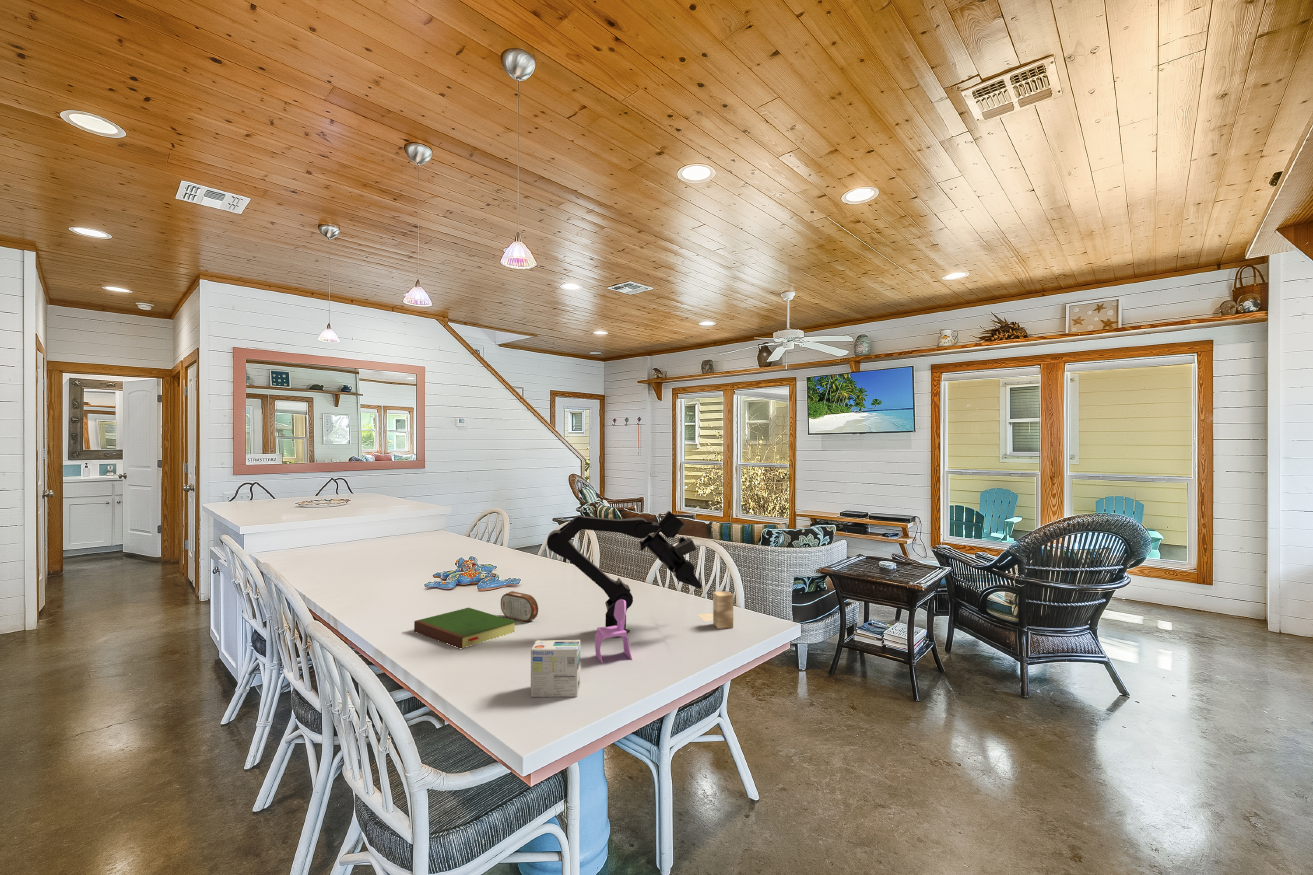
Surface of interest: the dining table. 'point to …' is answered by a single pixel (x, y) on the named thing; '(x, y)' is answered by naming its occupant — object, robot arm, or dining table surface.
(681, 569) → the robot arm
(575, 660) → the light bulb box
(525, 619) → the tin
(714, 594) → the maple block
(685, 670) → the dining table surface
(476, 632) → the hardcover book
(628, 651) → the toy chair
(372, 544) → the dining table surface
